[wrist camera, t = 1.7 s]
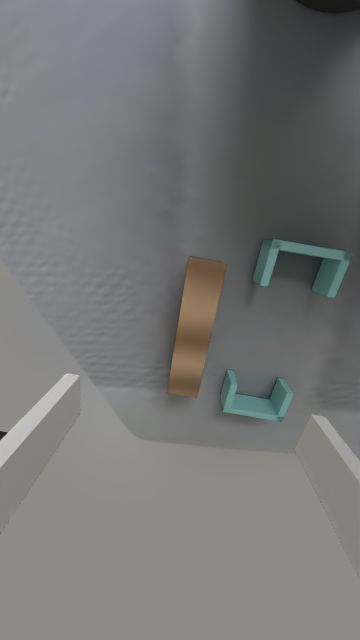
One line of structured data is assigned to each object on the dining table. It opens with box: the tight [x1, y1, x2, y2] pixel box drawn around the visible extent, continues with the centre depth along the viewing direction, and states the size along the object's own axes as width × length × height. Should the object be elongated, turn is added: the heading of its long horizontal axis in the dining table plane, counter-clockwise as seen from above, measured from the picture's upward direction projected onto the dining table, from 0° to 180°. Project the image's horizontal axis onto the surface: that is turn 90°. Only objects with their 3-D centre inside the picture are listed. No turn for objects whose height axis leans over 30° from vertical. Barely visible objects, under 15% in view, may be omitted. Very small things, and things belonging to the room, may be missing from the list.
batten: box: [167, 256, 227, 398], centre depth 24 cm, size 15×4×5 cm, turn 171°
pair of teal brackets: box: [220, 239, 354, 422], centre depth 25 cm, size 21×8×3 cm, turn 171°
